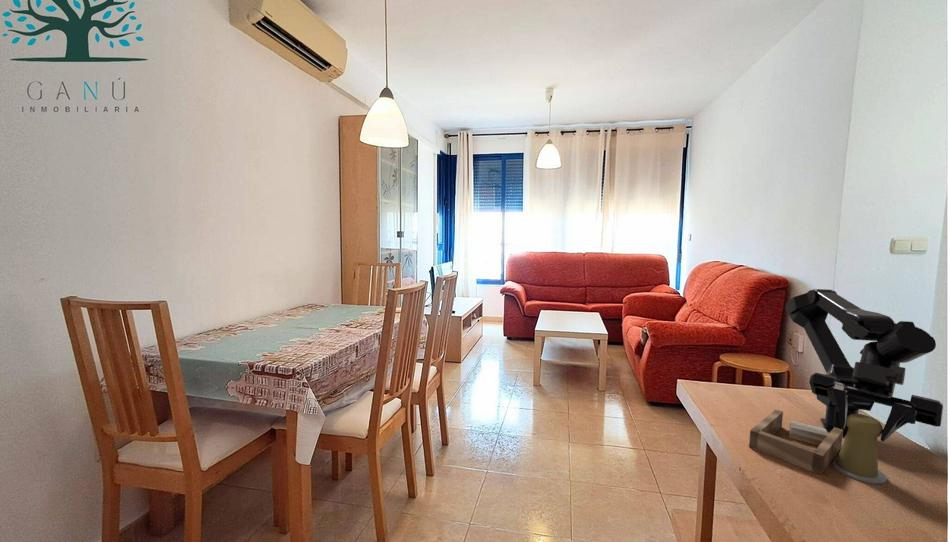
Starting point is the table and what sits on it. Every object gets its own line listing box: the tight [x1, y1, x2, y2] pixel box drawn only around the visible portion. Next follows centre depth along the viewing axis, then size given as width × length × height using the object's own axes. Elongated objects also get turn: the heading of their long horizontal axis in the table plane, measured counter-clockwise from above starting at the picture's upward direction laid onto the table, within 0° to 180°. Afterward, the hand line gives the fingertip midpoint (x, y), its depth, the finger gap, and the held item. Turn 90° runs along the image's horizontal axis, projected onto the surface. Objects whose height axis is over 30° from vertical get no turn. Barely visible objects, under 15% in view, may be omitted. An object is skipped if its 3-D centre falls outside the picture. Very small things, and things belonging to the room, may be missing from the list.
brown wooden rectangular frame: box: [748, 409, 844, 475], centre depth 87 cm, size 17×12×4 cm
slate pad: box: [832, 458, 887, 485], centre depth 78 cm, size 8×8×1 cm
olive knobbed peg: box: [836, 413, 884, 478], centre depth 78 cm, size 6×6×11 cm
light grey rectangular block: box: [788, 420, 829, 447], centre depth 90 cm, size 4×7×3 cm, turn 49°
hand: (861, 434), depth 76 cm, fingers open, 5 cm apart
